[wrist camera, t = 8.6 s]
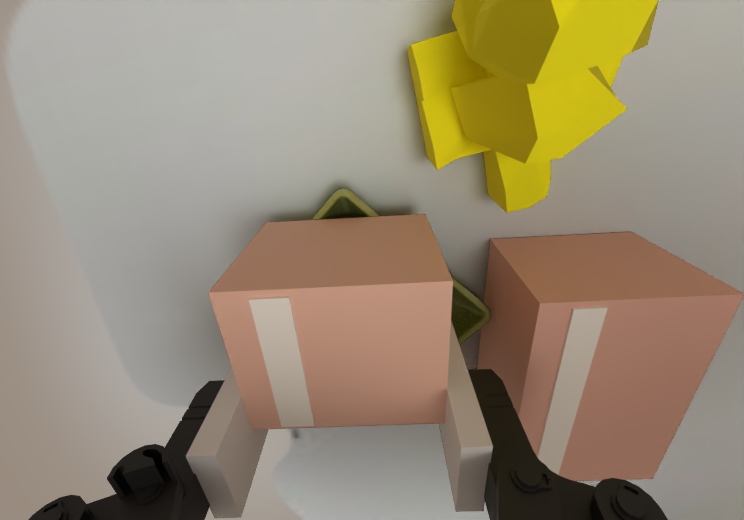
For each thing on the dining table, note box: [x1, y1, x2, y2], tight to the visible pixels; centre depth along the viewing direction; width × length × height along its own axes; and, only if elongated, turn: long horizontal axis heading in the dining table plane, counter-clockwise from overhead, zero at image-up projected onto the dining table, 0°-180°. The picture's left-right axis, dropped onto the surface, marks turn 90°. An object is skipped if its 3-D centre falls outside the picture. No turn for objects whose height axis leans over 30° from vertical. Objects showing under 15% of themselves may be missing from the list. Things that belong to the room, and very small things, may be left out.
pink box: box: [208, 214, 453, 430], centre depth 12 cm, size 5×6×5 cm
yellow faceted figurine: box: [407, 0, 659, 213], centre depth 9 cm, size 6×8×8 cm
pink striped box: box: [477, 232, 744, 481], centre depth 15 cm, size 10×6×5 cm, turn 3°
